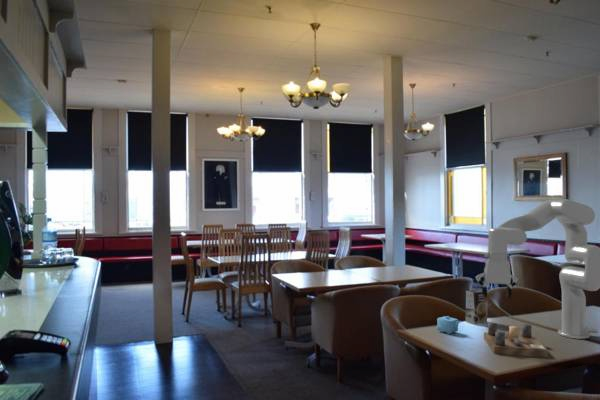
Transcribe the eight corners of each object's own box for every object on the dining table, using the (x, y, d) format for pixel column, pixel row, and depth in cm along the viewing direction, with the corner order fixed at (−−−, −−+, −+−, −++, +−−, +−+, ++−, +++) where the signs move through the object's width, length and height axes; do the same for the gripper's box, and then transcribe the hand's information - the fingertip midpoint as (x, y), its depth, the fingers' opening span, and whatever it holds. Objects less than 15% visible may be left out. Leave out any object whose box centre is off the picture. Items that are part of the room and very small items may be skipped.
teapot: (464, 334, 209) (464, 318, 209) (457, 337, 205) (457, 320, 205) (441, 328, 218) (441, 313, 219) (434, 331, 215) (434, 315, 215)
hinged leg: (524, 345, 182) (524, 333, 182) (514, 344, 183) (514, 332, 183) (517, 338, 192) (517, 326, 192) (508, 337, 193) (508, 325, 193)
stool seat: (532, 341, 198) (532, 323, 198) (547, 357, 179) (547, 337, 179) (483, 338, 202) (484, 321, 202) (493, 353, 183) (494, 334, 183)
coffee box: (475, 324, 225) (475, 292, 225) (465, 321, 231) (465, 290, 231) (487, 322, 230) (488, 291, 230) (477, 319, 235) (477, 288, 235)
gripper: (478, 256, 192) (477, 297, 192) (521, 258, 189) (520, 299, 189) (474, 255, 199) (473, 293, 199) (515, 256, 197) (514, 296, 197)
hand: (496, 296), depth 194 cm, fingers open, 9 cm apart
